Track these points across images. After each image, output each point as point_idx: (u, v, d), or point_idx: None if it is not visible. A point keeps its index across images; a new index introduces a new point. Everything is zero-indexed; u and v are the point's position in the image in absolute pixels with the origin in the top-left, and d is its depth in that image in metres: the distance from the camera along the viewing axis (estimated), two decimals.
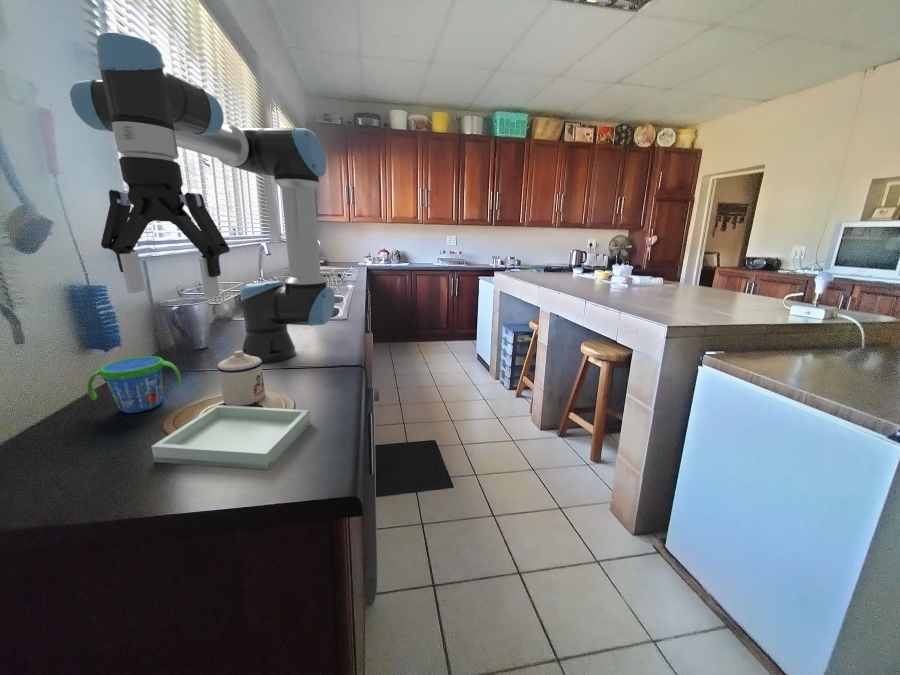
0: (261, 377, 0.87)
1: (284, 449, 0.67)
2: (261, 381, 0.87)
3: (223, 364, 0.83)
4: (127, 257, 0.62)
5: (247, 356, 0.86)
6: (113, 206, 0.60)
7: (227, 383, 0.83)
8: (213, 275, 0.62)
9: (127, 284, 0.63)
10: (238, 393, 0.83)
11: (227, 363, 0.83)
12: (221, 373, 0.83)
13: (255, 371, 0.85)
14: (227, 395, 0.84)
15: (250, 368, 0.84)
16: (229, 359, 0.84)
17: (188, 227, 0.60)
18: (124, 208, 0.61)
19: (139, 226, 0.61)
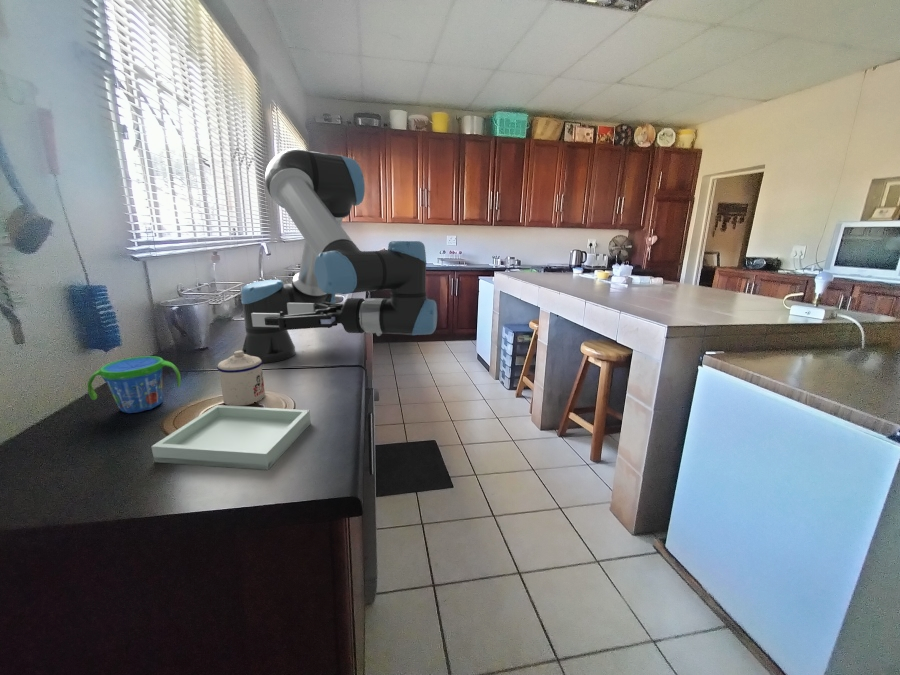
0: (261, 377, 0.87)
1: (284, 449, 0.67)
2: (261, 381, 0.87)
3: (223, 364, 0.83)
4: None
5: (247, 356, 0.86)
6: None
7: (227, 383, 0.83)
8: None
9: (260, 326, 0.77)
10: (238, 393, 0.83)
11: (227, 363, 0.83)
12: (221, 373, 0.83)
13: (255, 371, 0.85)
14: (227, 395, 0.84)
15: (250, 368, 0.84)
16: (229, 359, 0.84)
17: None
18: None
19: None
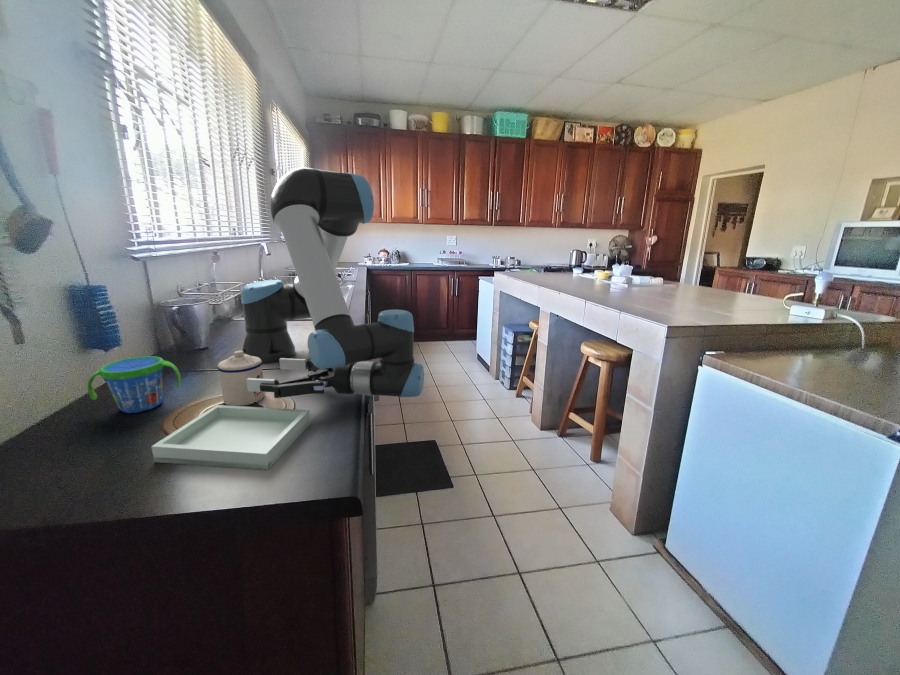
0: (261, 377, 0.87)
1: (284, 449, 0.67)
2: None
3: (223, 364, 0.83)
4: None
5: (247, 356, 0.86)
6: None
7: (227, 383, 0.83)
8: None
9: None
10: (238, 393, 0.83)
11: (227, 363, 0.83)
12: (221, 373, 0.83)
13: (255, 371, 0.85)
14: (227, 395, 0.84)
15: (250, 368, 0.84)
16: (229, 359, 0.84)
17: None
18: None
19: None
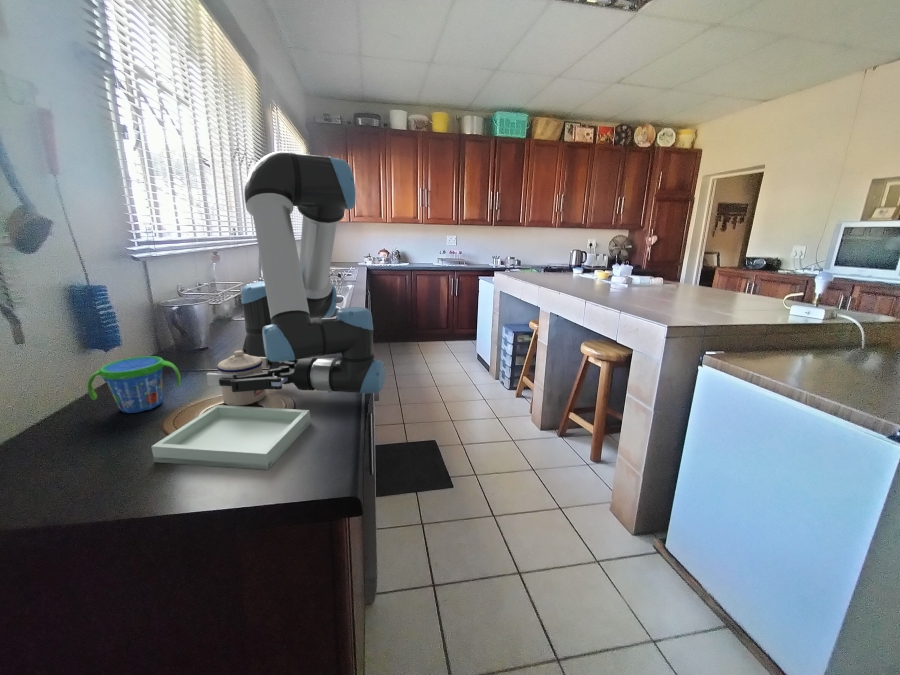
0: None
1: (284, 449, 0.67)
2: None
3: (223, 364, 0.83)
4: None
5: (247, 356, 0.86)
6: None
7: None
8: None
9: None
10: (237, 393, 0.83)
11: (227, 363, 0.83)
12: None
13: (255, 371, 0.85)
14: (227, 395, 0.84)
15: (250, 368, 0.84)
16: (229, 359, 0.84)
17: None
18: None
19: None
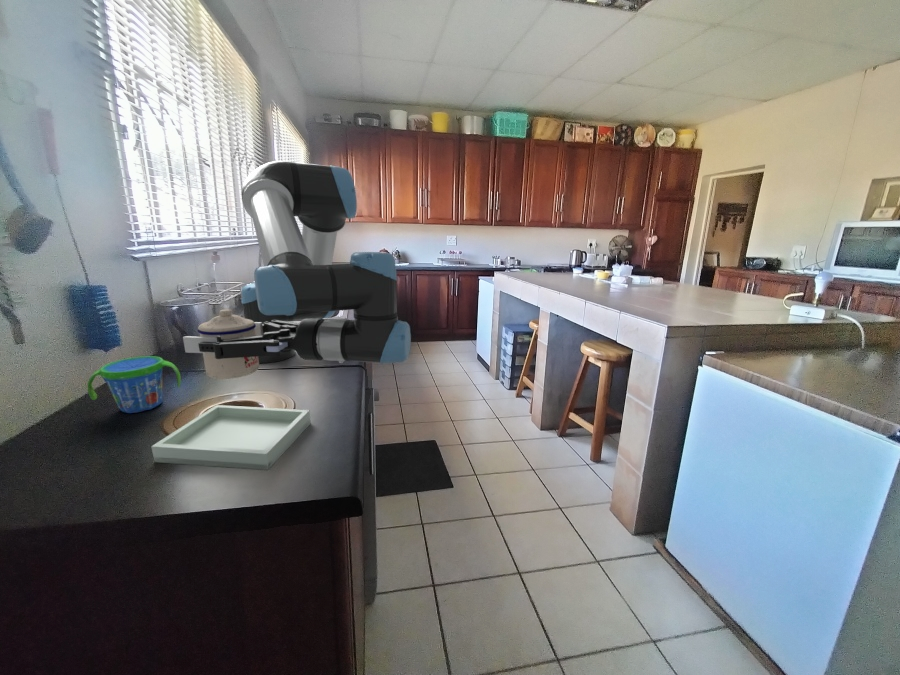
0: None
1: (284, 449, 0.67)
2: None
3: (205, 325, 0.65)
4: None
5: (236, 316, 0.68)
6: None
7: None
8: None
9: None
10: (224, 362, 0.65)
11: (210, 324, 0.65)
12: (202, 336, 0.65)
13: (247, 335, 0.67)
14: (210, 365, 0.65)
15: (240, 330, 0.65)
16: (213, 319, 0.66)
17: None
18: None
19: None
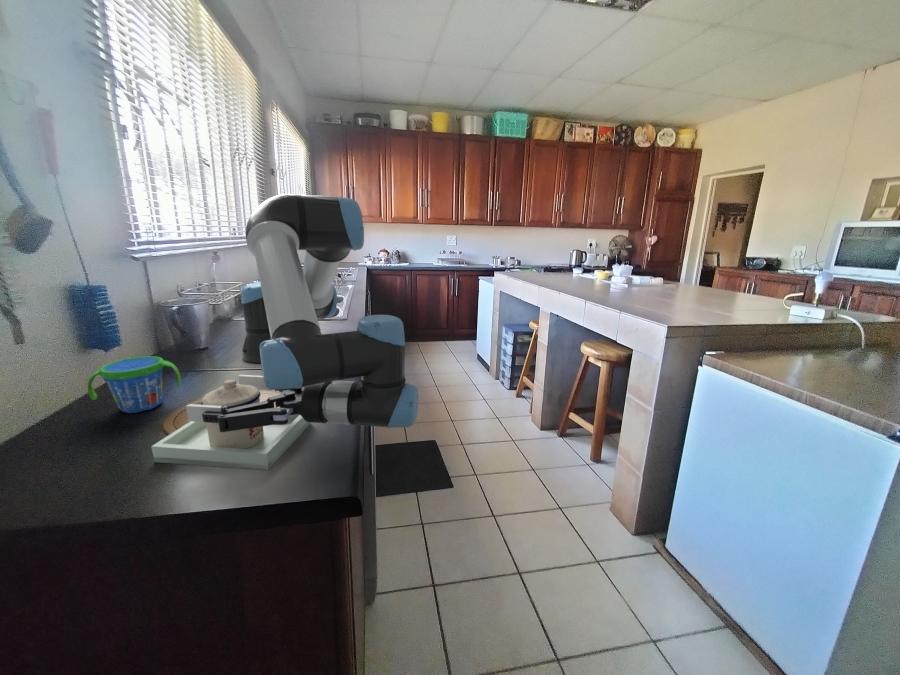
0: None
1: (284, 449, 0.67)
2: None
3: (209, 399, 0.64)
4: None
5: (241, 387, 0.66)
6: None
7: (214, 423, 0.63)
8: None
9: None
10: (228, 436, 0.64)
11: (214, 397, 0.64)
12: None
13: None
14: (214, 439, 0.64)
15: (244, 403, 0.64)
16: (217, 392, 0.64)
17: None
18: None
19: None
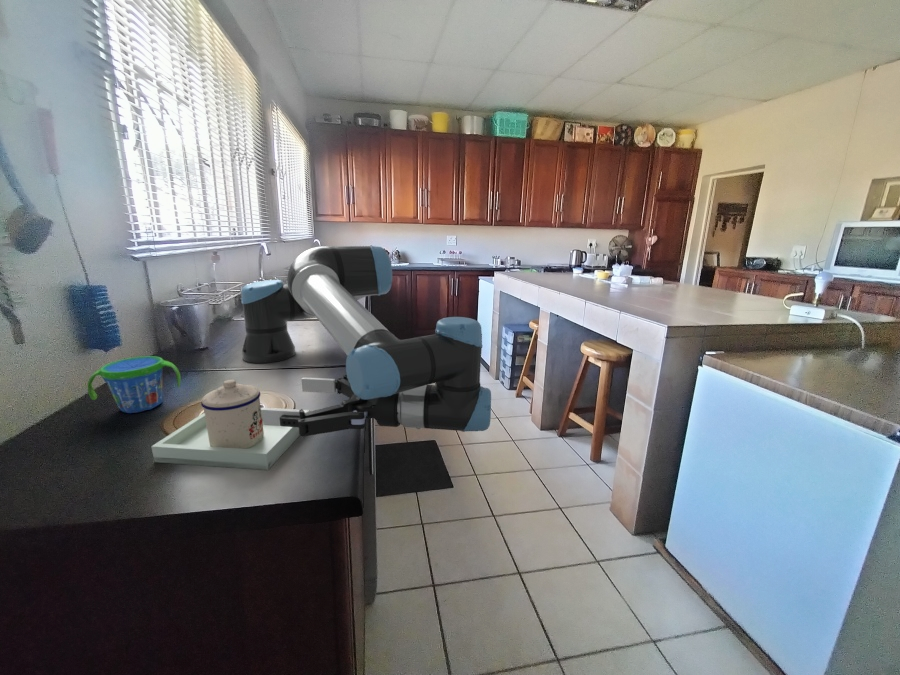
0: (259, 413, 0.68)
1: (284, 449, 0.67)
2: (259, 418, 0.68)
3: (209, 399, 0.64)
4: None
5: (241, 387, 0.66)
6: None
7: (214, 423, 0.63)
8: None
9: None
10: (228, 436, 0.64)
11: (214, 397, 0.64)
12: (206, 411, 0.63)
13: (251, 407, 0.66)
14: (214, 439, 0.64)
15: (244, 403, 0.64)
16: (217, 392, 0.64)
17: None
18: None
19: None
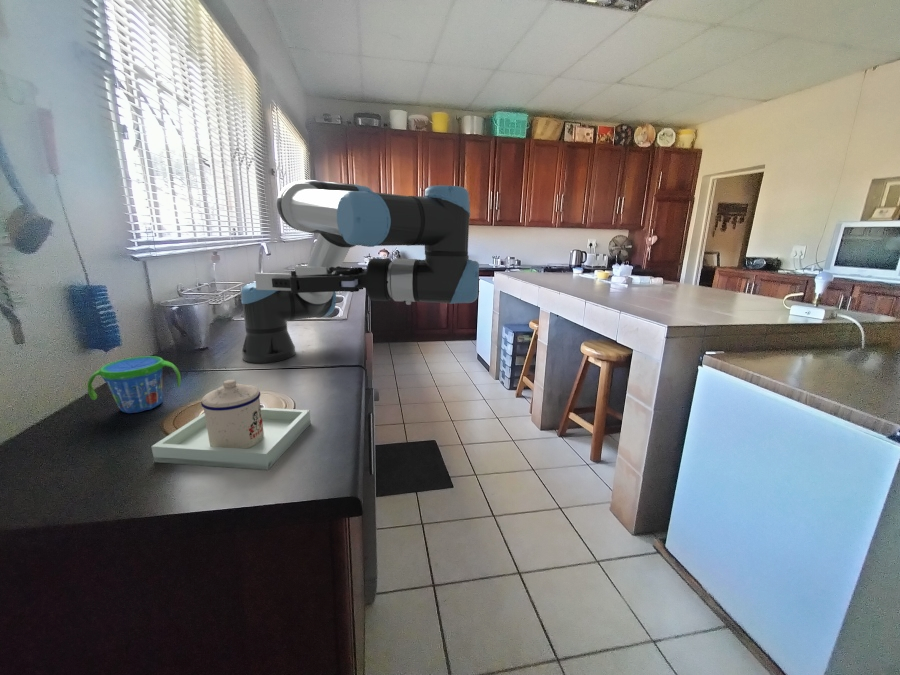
0: (259, 413, 0.68)
1: (284, 449, 0.67)
2: (259, 418, 0.68)
3: (209, 399, 0.64)
4: None
5: (241, 387, 0.66)
6: (339, 290, 0.62)
7: (214, 423, 0.63)
8: None
9: (265, 289, 0.62)
10: (228, 436, 0.64)
11: (214, 397, 0.64)
12: (206, 411, 0.63)
13: (251, 407, 0.66)
14: (214, 439, 0.64)
15: (244, 403, 0.64)
16: (217, 392, 0.64)
17: None
18: None
19: None
